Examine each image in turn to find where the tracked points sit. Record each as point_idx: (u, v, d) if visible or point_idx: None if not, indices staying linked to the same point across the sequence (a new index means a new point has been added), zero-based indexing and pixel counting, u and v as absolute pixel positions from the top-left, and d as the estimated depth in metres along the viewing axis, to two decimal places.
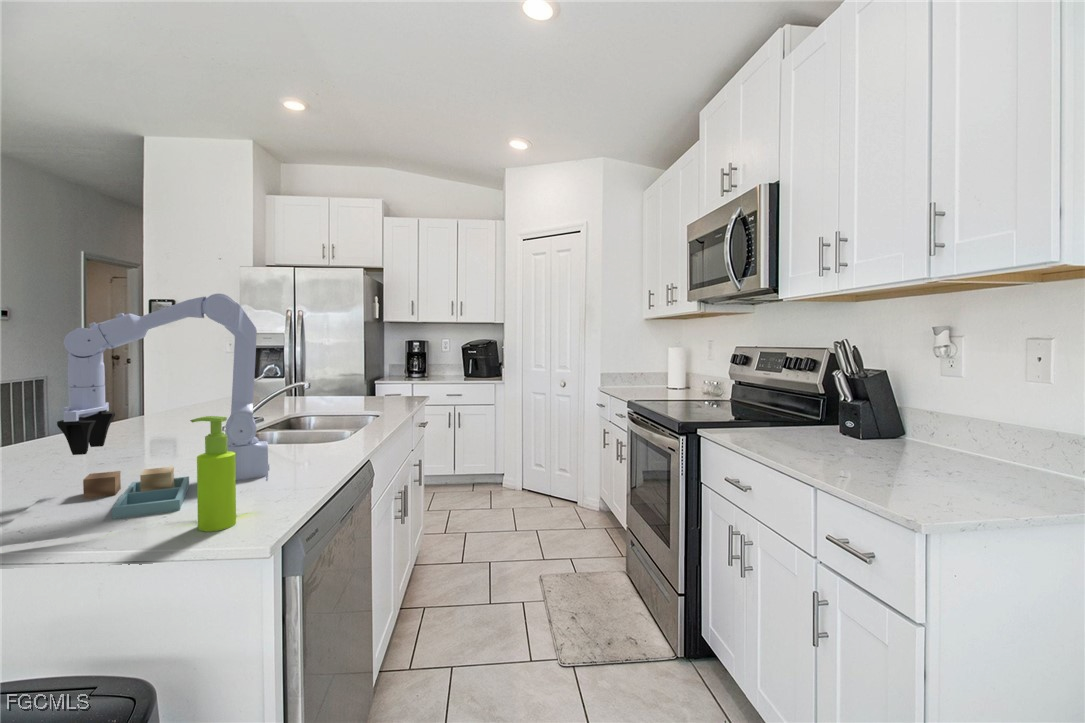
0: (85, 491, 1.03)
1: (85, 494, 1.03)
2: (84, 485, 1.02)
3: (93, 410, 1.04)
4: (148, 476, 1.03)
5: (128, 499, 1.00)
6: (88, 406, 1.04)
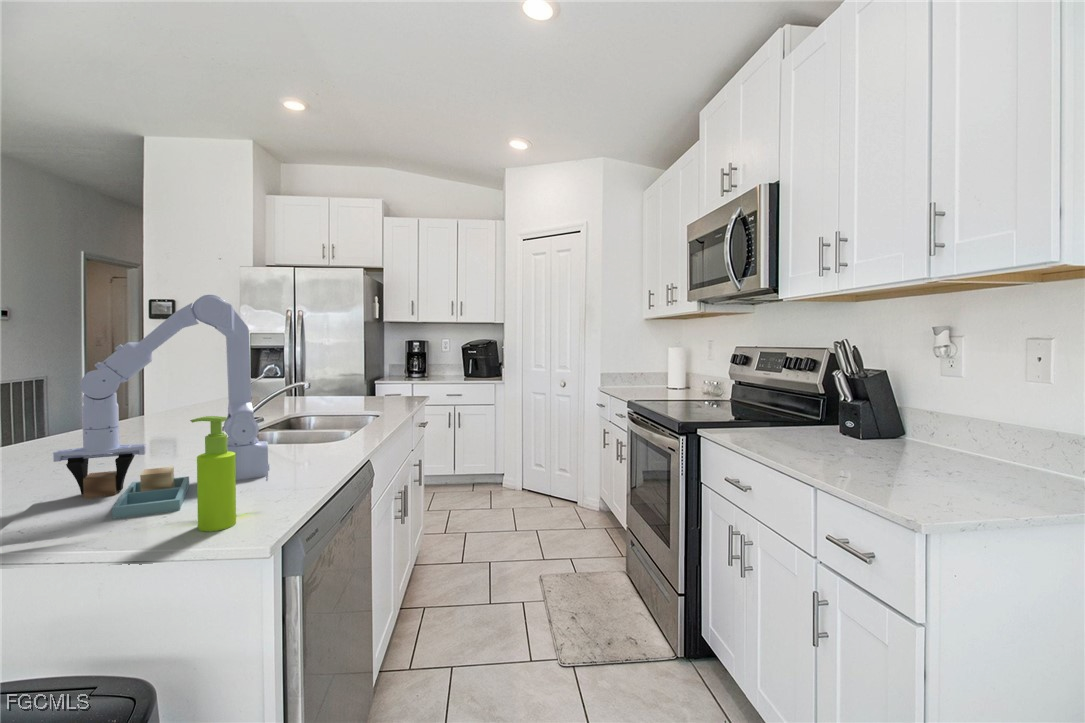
0: (85, 490, 1.02)
1: (85, 493, 1.03)
2: (84, 484, 1.02)
3: (79, 453, 1.02)
4: (148, 476, 1.03)
5: (128, 499, 1.00)
6: (83, 448, 1.03)
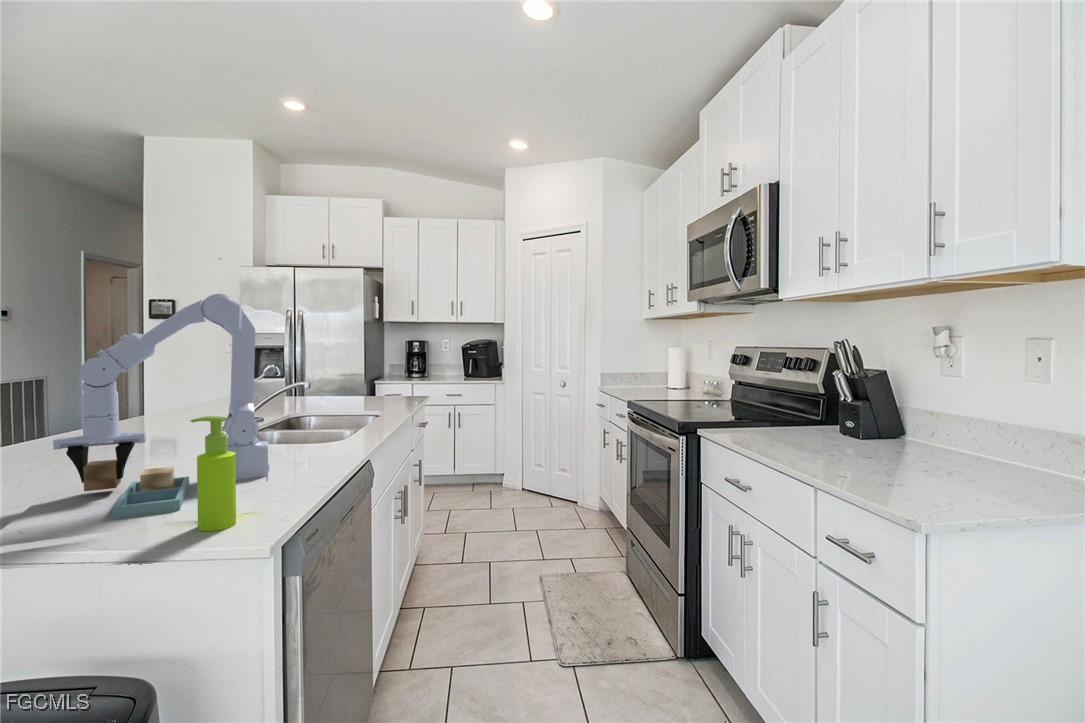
0: (85, 478, 1.02)
1: (85, 481, 1.02)
2: (84, 472, 1.02)
3: (79, 441, 1.02)
4: (148, 476, 1.03)
5: (128, 499, 1.00)
6: (83, 436, 1.03)
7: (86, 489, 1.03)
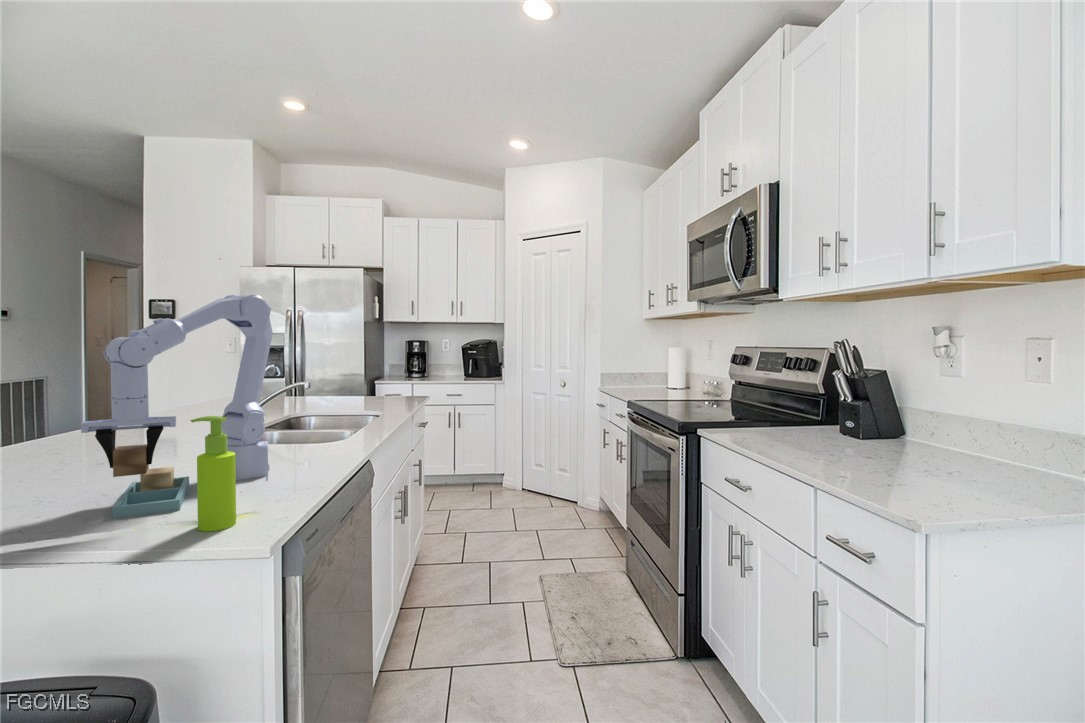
0: (115, 463, 0.98)
1: (115, 466, 0.98)
2: (114, 457, 0.97)
3: (108, 424, 0.97)
4: (148, 476, 1.03)
5: (128, 499, 1.00)
6: (112, 419, 0.98)
7: (115, 474, 0.98)
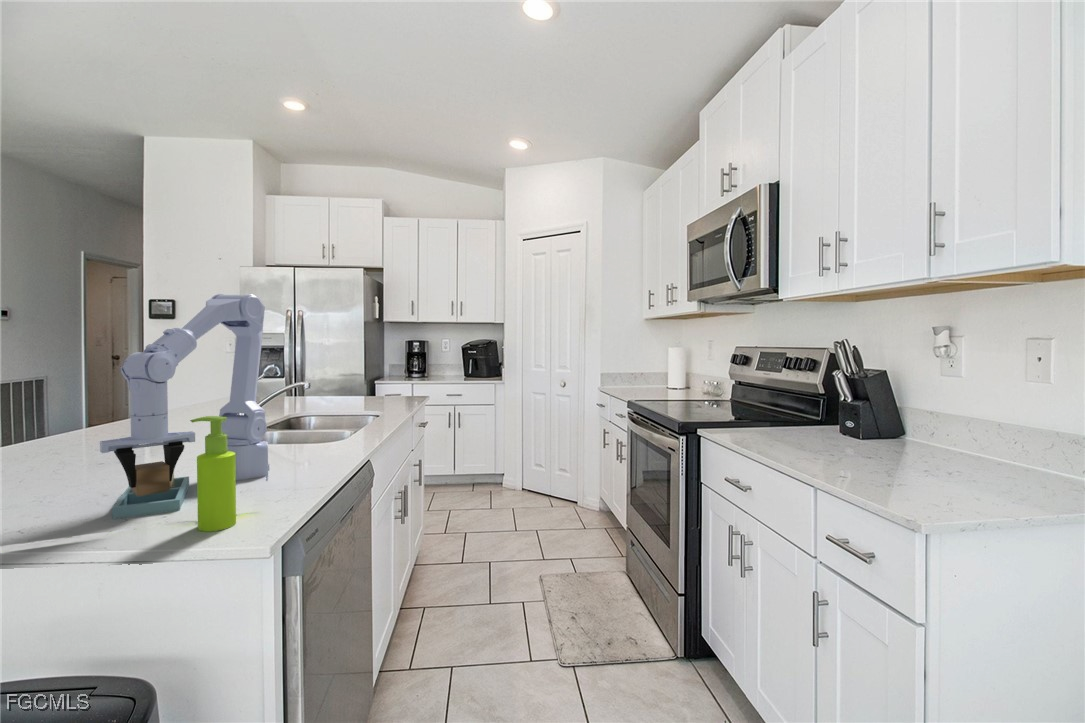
0: (139, 482, 0.95)
1: (139, 486, 0.95)
2: (138, 476, 0.95)
3: (132, 442, 0.94)
4: None
5: (128, 499, 1.00)
6: (134, 437, 0.95)
7: (140, 494, 0.95)
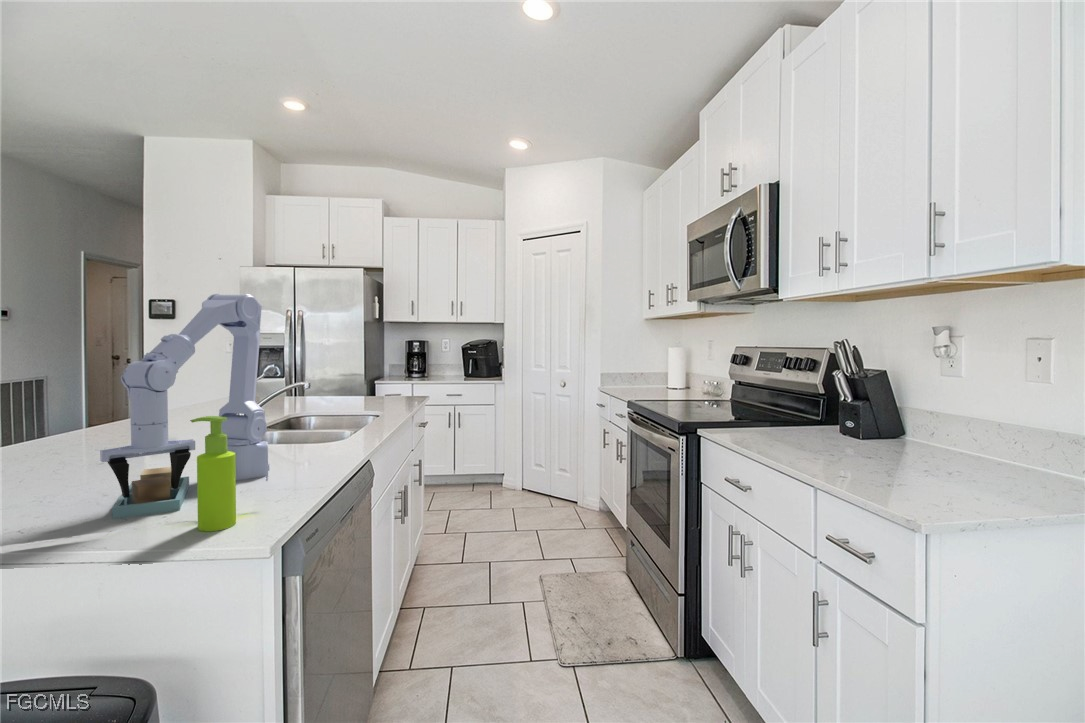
0: (140, 499, 0.95)
1: (140, 502, 0.95)
2: (139, 492, 0.95)
3: (132, 451, 0.94)
4: (148, 476, 1.03)
5: (128, 499, 1.00)
6: (134, 446, 0.95)
7: None
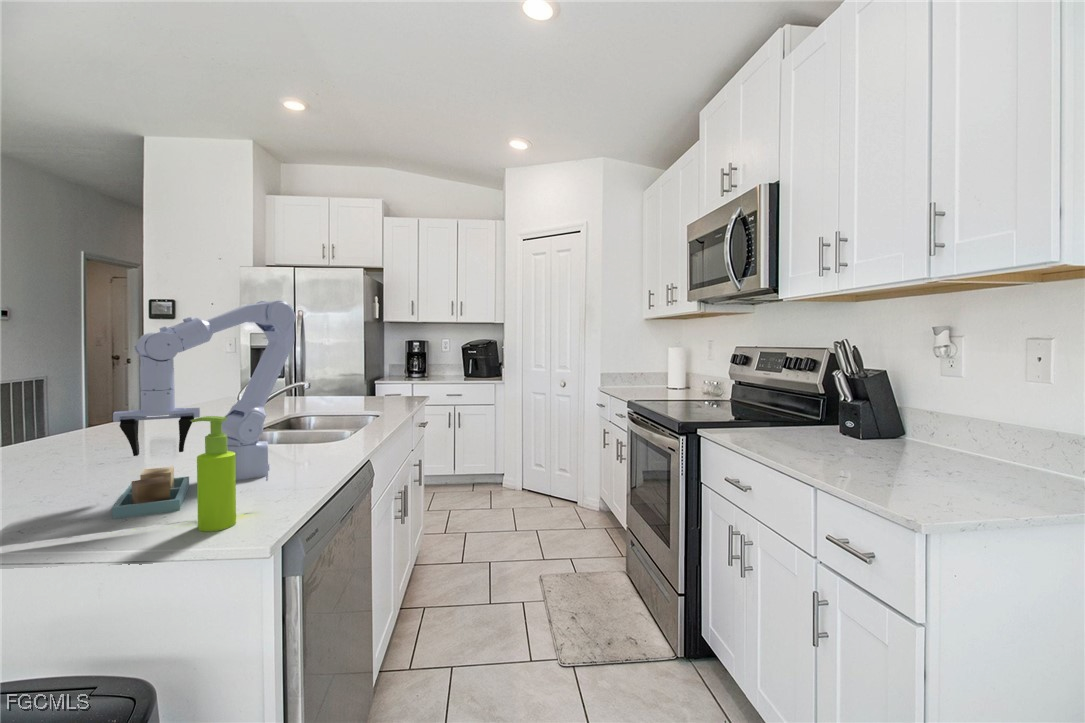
0: (140, 499, 0.95)
1: (140, 502, 0.95)
2: (139, 492, 0.95)
3: (138, 414, 1.03)
4: (148, 476, 1.03)
5: (128, 499, 1.00)
6: (141, 409, 1.04)
7: None
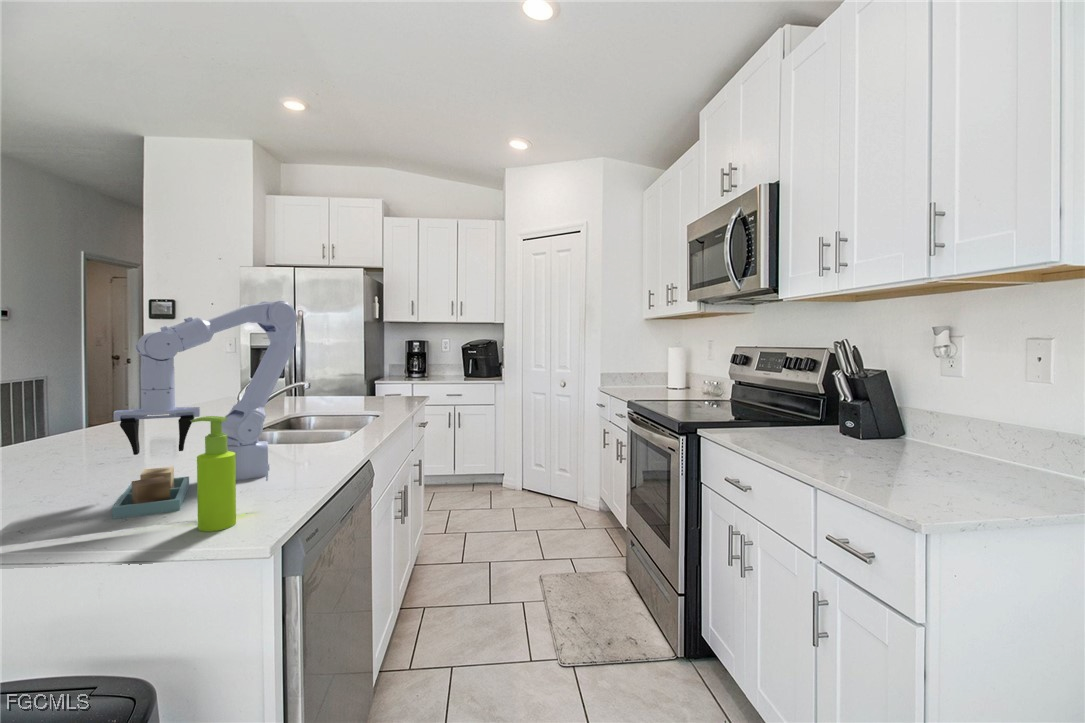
0: (140, 499, 0.95)
1: (140, 502, 0.95)
2: (139, 492, 0.95)
3: (138, 413, 1.04)
4: (148, 476, 1.03)
5: (128, 499, 1.00)
6: (142, 408, 1.05)
7: None
